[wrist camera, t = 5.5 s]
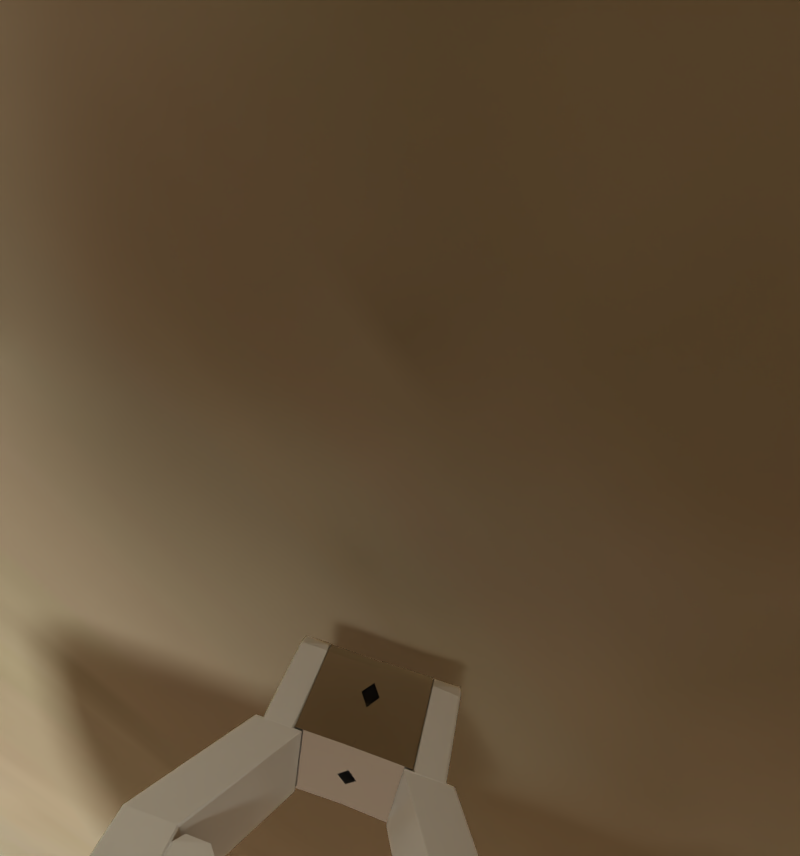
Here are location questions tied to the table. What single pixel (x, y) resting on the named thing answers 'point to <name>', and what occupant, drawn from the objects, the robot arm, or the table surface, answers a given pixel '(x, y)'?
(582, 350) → the table surface
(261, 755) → the robot arm
